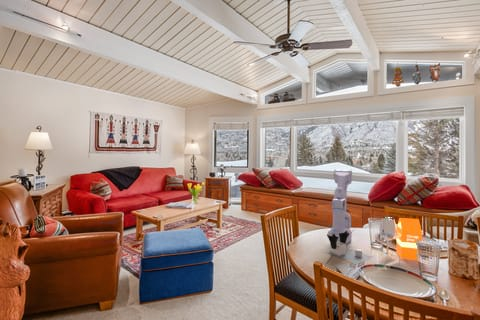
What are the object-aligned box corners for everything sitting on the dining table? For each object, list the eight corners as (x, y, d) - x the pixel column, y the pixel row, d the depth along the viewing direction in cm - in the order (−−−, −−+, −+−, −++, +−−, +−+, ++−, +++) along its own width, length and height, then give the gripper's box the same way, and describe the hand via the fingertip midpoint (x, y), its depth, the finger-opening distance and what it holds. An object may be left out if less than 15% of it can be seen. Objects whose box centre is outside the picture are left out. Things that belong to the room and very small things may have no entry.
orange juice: (421, 260, 119) (422, 221, 119) (401, 258, 122) (402, 219, 121) (415, 254, 127) (415, 217, 126) (396, 252, 129) (396, 215, 129)
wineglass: (393, 254, 127) (394, 217, 126) (398, 260, 119) (399, 220, 119) (377, 252, 129) (378, 215, 129) (380, 258, 122) (381, 219, 122)
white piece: (336, 250, 129) (336, 240, 129) (345, 253, 124) (345, 243, 124) (330, 252, 126) (330, 242, 126) (339, 255, 121) (339, 245, 121)
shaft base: (344, 248, 134) (344, 241, 134) (373, 259, 121) (373, 250, 121) (326, 254, 125) (326, 246, 125) (354, 266, 112) (355, 258, 112)
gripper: (340, 217, 132) (339, 242, 132) (323, 221, 124) (322, 247, 124) (352, 220, 126) (351, 246, 126) (335, 224, 118) (334, 252, 119)
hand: (338, 247), depth 125 cm, fingers open, 7 cm apart
